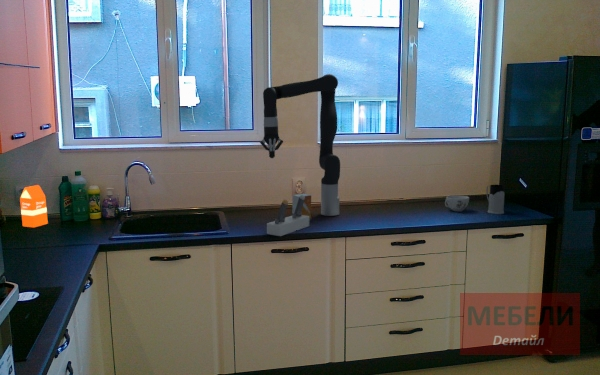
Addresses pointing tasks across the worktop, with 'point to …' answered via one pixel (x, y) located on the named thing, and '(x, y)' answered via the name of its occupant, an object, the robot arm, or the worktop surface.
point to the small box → (306, 205)
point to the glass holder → (496, 199)
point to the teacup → (457, 202)
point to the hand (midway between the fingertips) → (272, 158)
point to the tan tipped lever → (282, 210)
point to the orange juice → (33, 207)
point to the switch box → (287, 225)
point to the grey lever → (299, 205)
